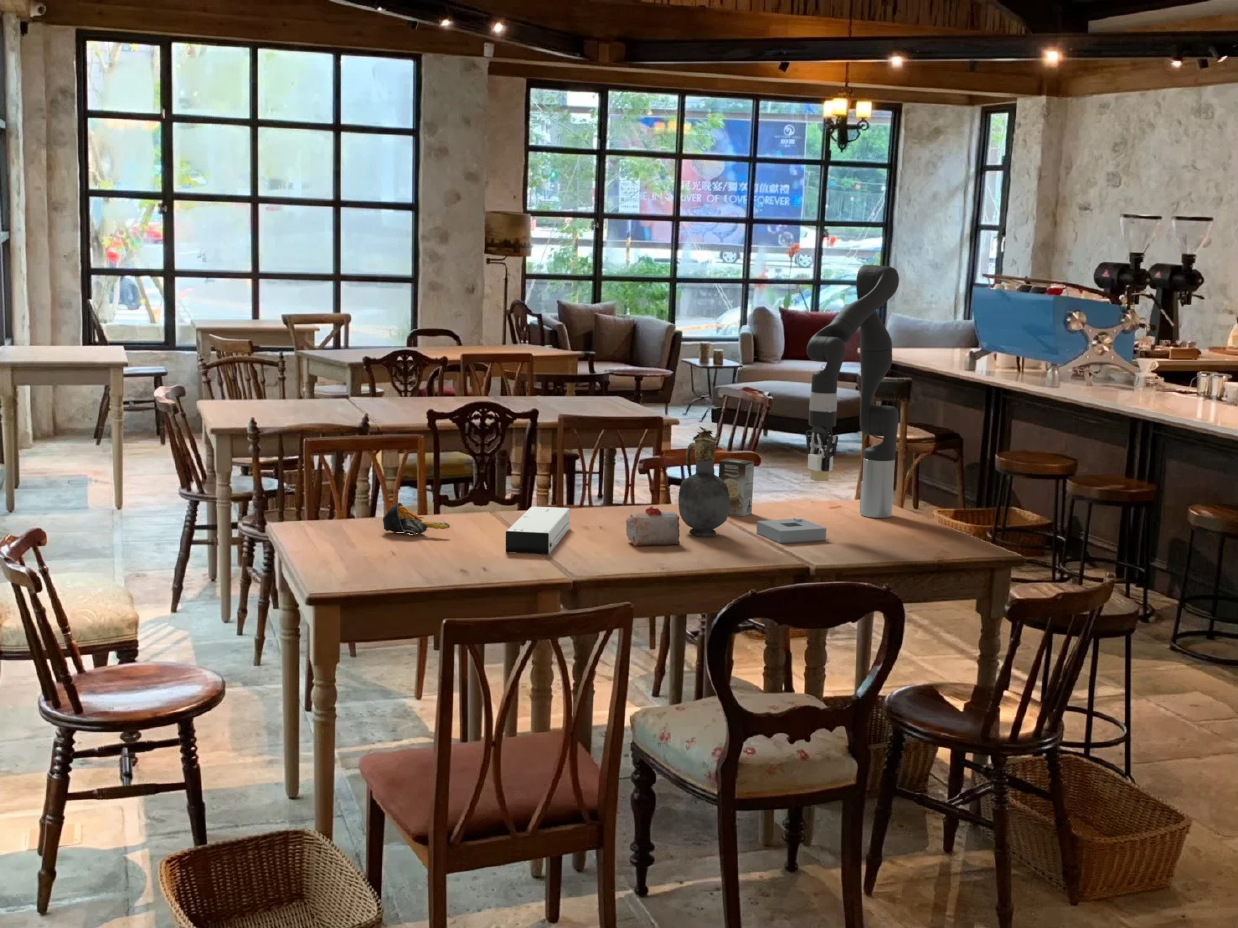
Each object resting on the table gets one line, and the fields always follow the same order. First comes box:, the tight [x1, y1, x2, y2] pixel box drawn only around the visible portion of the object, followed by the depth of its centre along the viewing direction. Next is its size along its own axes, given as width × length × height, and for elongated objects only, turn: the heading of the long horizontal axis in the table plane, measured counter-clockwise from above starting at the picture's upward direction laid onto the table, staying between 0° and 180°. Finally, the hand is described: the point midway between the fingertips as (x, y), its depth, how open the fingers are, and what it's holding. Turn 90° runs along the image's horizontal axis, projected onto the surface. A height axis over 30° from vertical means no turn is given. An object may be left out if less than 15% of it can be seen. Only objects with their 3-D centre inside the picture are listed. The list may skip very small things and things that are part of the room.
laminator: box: [505, 505, 571, 555], centre depth 357 cm, size 34×12×6 cm, turn 173°
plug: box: [807, 453, 834, 482], centre depth 369 cm, size 5×5×7 cm
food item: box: [625, 506, 681, 547], centre depth 355 cm, size 14×8×10 cm, turn 104°
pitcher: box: [677, 426, 730, 538], centre depth 367 cm, size 11×19×30 cm, turn 22°
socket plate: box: [756, 517, 827, 545], centre depth 366 cm, size 14×14×4 cm
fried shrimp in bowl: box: [382, 502, 451, 536], centre depth 361 cm, size 9×11×18 cm
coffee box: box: [718, 457, 755, 517], centre depth 398 cm, size 9×6×16 cm
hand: (819, 469), depth 369 cm, fingers closed on plug, 5 cm apart
